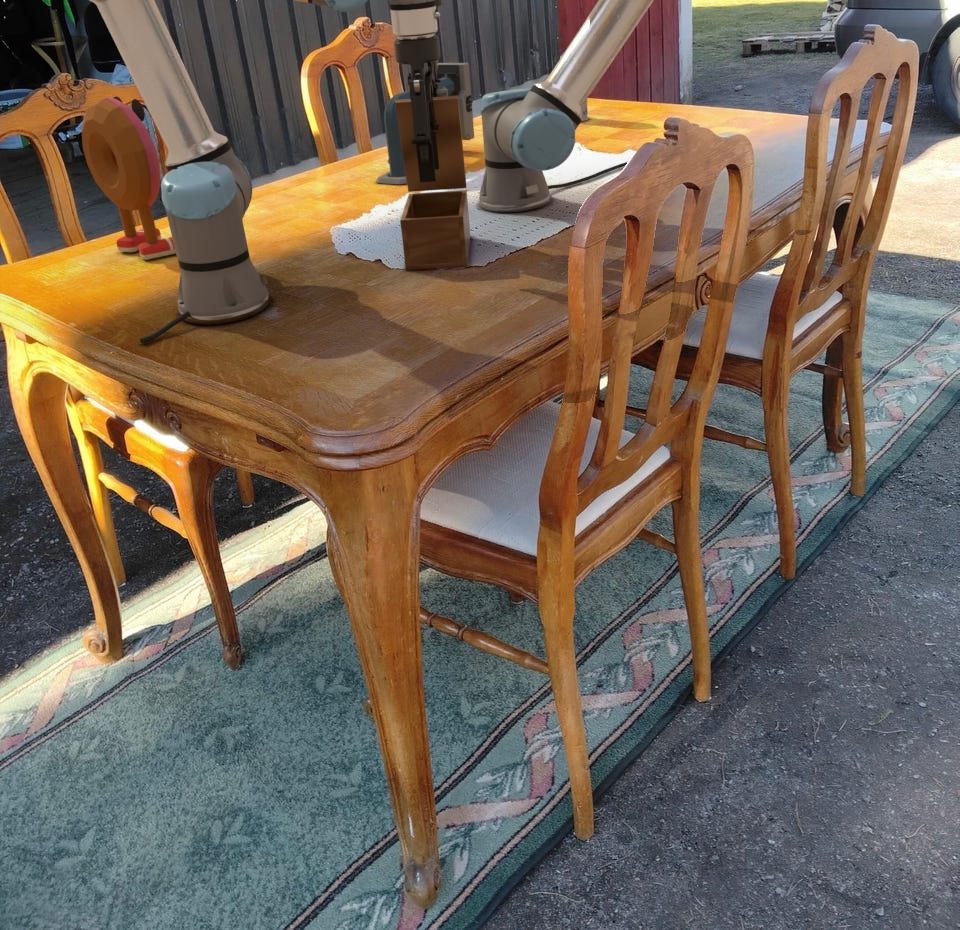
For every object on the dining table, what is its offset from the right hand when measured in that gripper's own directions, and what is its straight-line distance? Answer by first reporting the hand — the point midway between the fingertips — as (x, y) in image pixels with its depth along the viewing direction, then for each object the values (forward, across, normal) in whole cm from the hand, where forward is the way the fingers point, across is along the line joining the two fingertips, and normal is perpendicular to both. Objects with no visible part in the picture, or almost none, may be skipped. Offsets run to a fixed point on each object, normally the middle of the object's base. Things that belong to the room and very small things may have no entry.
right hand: (433, 122), depth 182 cm
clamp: (+22, +58, +8) cm, 63 cm away
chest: (+22, -11, 0) cm, 24 cm away
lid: (+3, -6, 0) cm, 7 cm away
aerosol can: (+22, +101, -31) cm, 108 cm away
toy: (+22, +2, +60) cm, 64 cm away
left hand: (+6, -16, 0) cm, 17 cm away
